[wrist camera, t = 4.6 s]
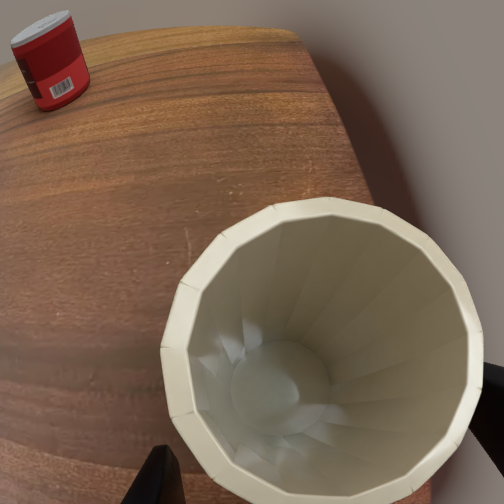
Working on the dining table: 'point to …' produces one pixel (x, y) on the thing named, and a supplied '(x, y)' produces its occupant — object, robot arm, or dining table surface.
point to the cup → (322, 356)
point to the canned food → (52, 61)
